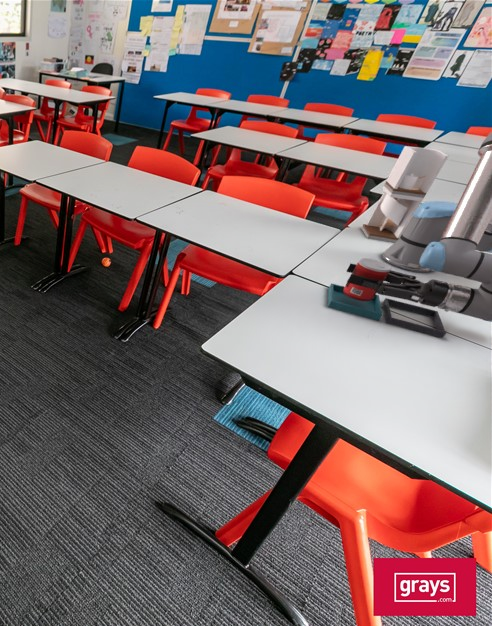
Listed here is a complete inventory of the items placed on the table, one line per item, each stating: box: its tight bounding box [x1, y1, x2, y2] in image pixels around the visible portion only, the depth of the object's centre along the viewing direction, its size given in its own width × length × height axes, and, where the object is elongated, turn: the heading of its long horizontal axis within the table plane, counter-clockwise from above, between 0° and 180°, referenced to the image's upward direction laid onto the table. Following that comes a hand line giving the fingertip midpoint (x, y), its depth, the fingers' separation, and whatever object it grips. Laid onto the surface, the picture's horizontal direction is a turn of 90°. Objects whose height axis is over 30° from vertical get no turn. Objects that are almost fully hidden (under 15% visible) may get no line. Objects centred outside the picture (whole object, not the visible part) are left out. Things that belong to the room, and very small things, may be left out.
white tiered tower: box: [360, 145, 449, 243], centre depth 171 cm, size 11×11×35 cm
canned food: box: [343, 258, 392, 301], centre depth 128 cm, size 8×8×11 cm
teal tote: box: [327, 283, 384, 322], centre depth 132 cm, size 13×13×2 cm
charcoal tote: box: [381, 297, 447, 339], centre depth 126 cm, size 13×13×2 cm
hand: (349, 272), depth 129 cm, fingers closed on canned food, 8 cm apart
